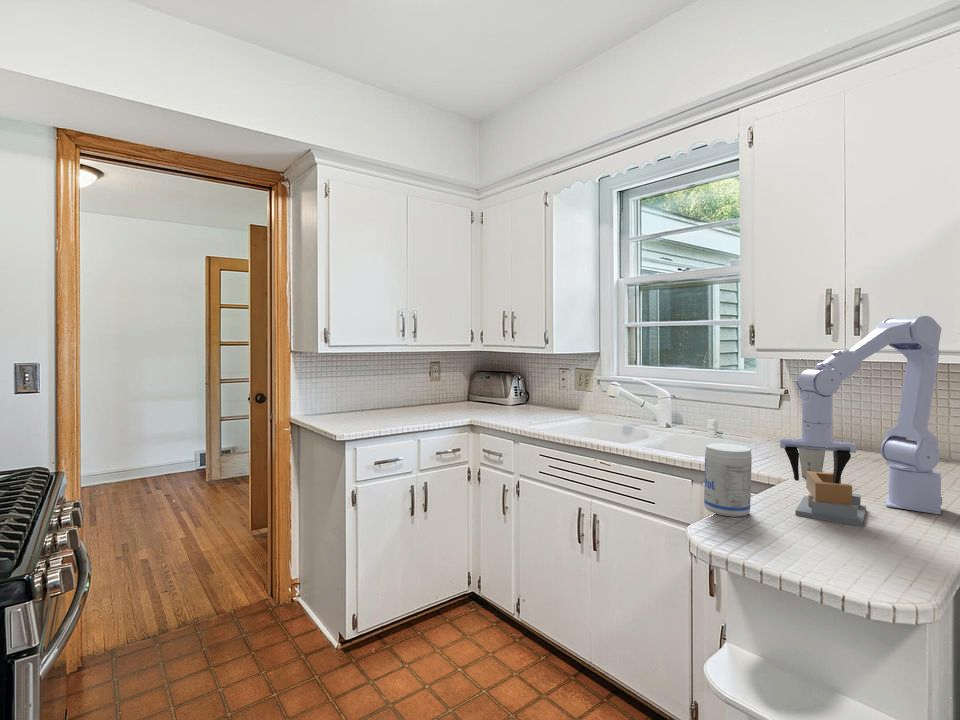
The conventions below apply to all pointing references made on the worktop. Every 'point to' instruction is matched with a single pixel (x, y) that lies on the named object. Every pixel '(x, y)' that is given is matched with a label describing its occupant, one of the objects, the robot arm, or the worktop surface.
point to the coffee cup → (811, 460)
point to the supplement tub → (727, 479)
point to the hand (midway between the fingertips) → (815, 481)
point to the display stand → (833, 510)
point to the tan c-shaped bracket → (828, 488)
